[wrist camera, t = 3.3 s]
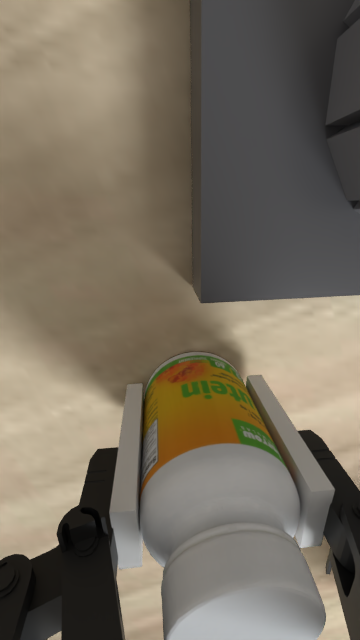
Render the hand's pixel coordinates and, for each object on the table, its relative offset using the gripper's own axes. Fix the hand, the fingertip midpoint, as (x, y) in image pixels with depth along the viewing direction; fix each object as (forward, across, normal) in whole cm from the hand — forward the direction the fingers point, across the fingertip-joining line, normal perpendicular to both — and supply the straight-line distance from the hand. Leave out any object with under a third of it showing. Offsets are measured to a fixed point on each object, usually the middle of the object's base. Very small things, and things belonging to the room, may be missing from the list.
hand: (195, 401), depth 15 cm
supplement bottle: (+1, 0, 0) cm, 1 cm away
